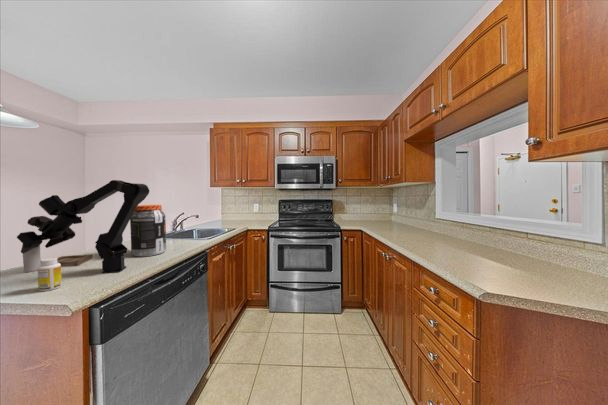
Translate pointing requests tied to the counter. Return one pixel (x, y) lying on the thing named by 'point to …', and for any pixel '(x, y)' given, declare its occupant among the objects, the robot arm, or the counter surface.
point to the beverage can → (32, 260)
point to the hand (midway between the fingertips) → (34, 249)
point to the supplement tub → (148, 230)
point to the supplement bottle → (49, 274)
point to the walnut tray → (73, 260)
